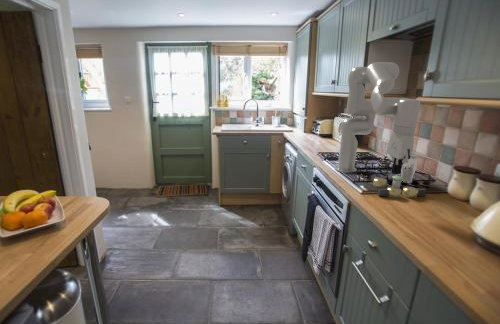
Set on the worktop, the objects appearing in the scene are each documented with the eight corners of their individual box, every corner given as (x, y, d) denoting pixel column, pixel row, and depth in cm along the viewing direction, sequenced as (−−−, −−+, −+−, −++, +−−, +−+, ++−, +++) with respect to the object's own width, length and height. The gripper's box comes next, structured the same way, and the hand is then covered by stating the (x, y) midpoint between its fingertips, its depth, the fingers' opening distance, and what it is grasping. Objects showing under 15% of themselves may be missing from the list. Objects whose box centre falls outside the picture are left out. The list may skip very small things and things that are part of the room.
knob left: (388, 188, 131) (389, 181, 130) (376, 188, 130) (377, 181, 129) (377, 180, 140) (378, 174, 139) (366, 180, 140) (367, 174, 139)
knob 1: (395, 193, 125) (396, 186, 124) (402, 198, 119) (404, 191, 118) (374, 193, 124) (376, 186, 123) (381, 198, 119) (382, 191, 118)
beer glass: (414, 186, 138) (421, 159, 133) (400, 185, 139) (406, 158, 134) (409, 181, 144) (415, 155, 140) (396, 180, 145) (401, 154, 141)
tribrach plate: (369, 186, 136) (371, 173, 134) (397, 186, 137) (399, 173, 135) (389, 202, 118) (392, 188, 116) (421, 202, 119) (425, 188, 117)
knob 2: (407, 198, 119) (408, 191, 118) (399, 193, 125) (400, 186, 124) (428, 198, 120) (429, 191, 119) (419, 193, 126) (420, 186, 125)
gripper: (384, 127, 113) (378, 167, 118) (406, 133, 99) (397, 179, 104) (401, 127, 114) (394, 167, 119) (425, 133, 99) (415, 179, 105)
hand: (395, 173), depth 111 cm, fingers closed
